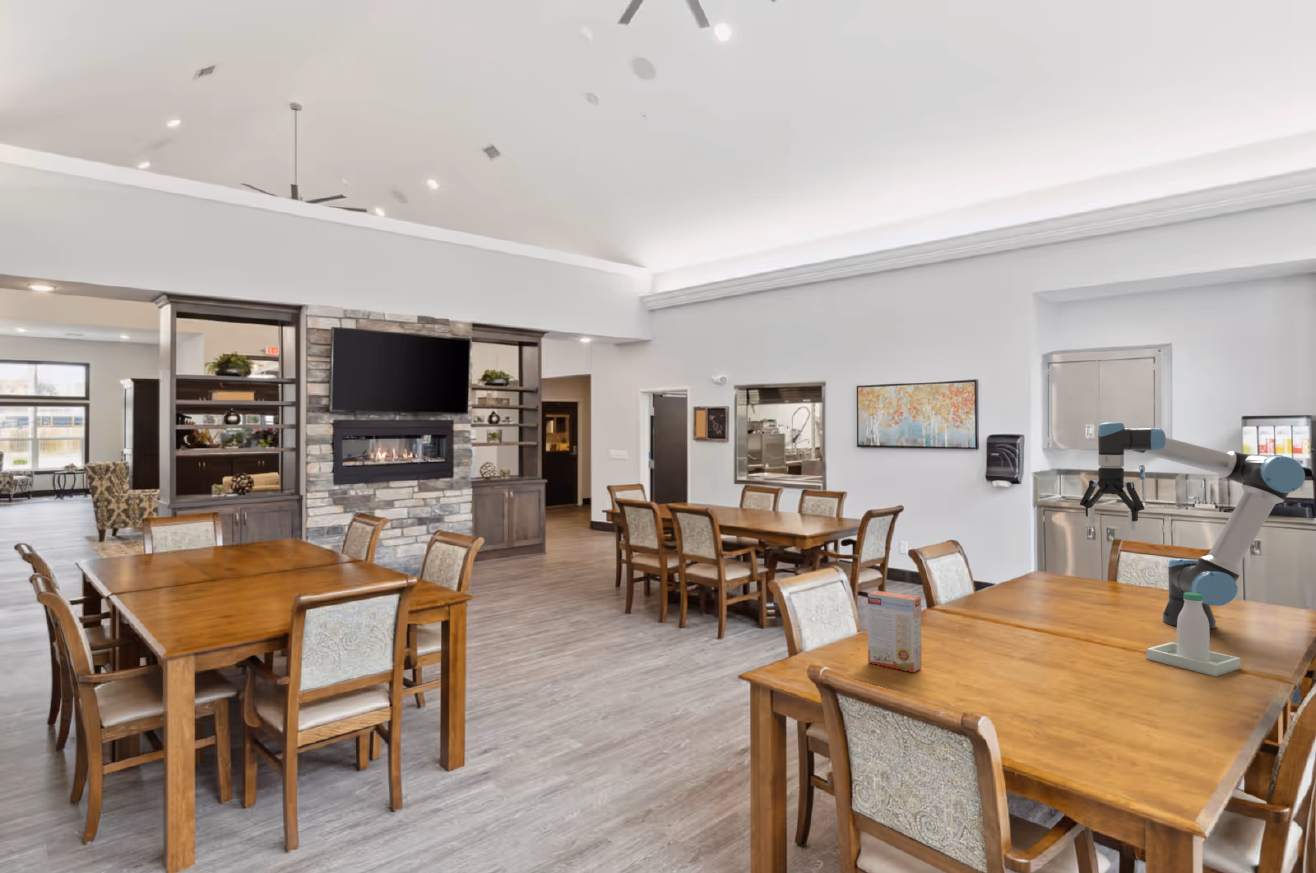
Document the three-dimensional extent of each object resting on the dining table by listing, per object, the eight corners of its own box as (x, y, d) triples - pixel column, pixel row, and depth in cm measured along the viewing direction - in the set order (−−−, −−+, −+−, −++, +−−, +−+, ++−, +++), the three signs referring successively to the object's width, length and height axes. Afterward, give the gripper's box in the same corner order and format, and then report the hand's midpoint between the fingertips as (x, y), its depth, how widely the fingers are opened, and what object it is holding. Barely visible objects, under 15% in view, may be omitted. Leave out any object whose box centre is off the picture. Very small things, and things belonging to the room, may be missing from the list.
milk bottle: (1215, 666, 206) (1215, 597, 205) (1185, 664, 207) (1185, 595, 207) (1200, 658, 213) (1200, 591, 213) (1171, 656, 215) (1171, 590, 215)
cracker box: (922, 668, 206) (922, 596, 206) (913, 673, 202) (913, 599, 202) (876, 658, 216) (876, 589, 216) (867, 663, 211) (867, 592, 211)
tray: (1171, 651, 222) (1171, 642, 222) (1240, 668, 206) (1240, 657, 206) (1146, 658, 215) (1146, 648, 215) (1216, 676, 199) (1216, 665, 199)
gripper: (1069, 466, 257) (1069, 525, 257) (1143, 468, 235) (1143, 533, 235) (1081, 465, 260) (1081, 523, 261) (1156, 468, 239) (1156, 531, 239)
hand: (1111, 528), depth 248 cm, fingers open, 13 cm apart
